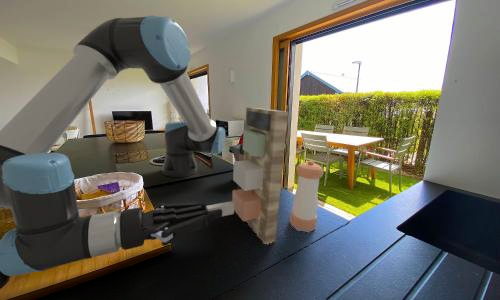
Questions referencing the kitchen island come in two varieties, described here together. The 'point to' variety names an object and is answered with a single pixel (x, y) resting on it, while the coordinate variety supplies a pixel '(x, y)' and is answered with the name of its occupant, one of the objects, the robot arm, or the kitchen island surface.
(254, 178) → the key middle
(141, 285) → the kitchen island surface
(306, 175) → the salt shaker
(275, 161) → the keypad panel
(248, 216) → the block
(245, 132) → the key top
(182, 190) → the kitchen island surface
